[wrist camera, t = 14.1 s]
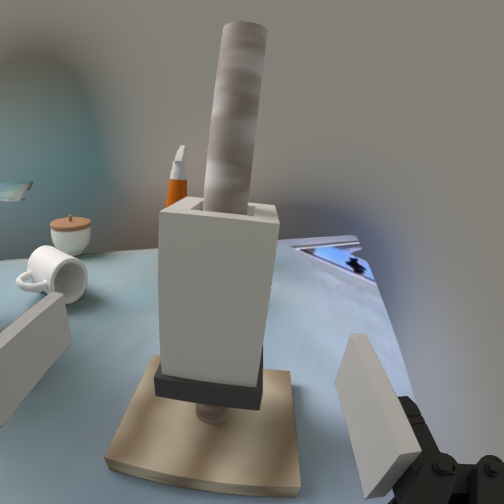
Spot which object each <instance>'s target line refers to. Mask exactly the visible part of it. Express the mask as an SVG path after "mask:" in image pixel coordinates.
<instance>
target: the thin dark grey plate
mask: <svg viewBox="0 0 504 504" xmlns="http://www.w3.org/2000/svg"><path fill="white" fill-rule="evenodd" d="M154 386H155V395H156V396H158V397H163V398H168V399H174V400H179V401H185V402H191V403H198V404H204V405H212V406H219V407H227V408H236V409H246V410H257V411H260V406H261V400H262V395H263V346H262V353H261V359H260V366H259V372H258V378H257V385H256V387H247V386H238V385H229V384H221V383H213V382H206V381H199V380H192V379H186V378H180V377H174V376H168V375H163V374H162V370H161V362H160V364H159V366H158V369H157V371H156V373H155V375H154Z"/></svg>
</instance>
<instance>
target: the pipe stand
mask: <svg viewBox="0 0 504 504" xmlns="http://www.w3.org/2000/svg"><path fill="white" fill-rule="evenodd" d="M266 38H267V29H266V28H265V27H263V26H261V25H259V24H256V23H252V22H243V21H239V22H231V23H228V24H227V25H225V26H224V28H223V35H222V41H221V48H220V55H219V63H218V69H217V77H216V84H215V92H214V100H213V110H212V118H211V126H210V136H209V146H208V156H207V166H206V177H205V189H204V201H203V211H210V212H220V213H230V214H240V215H247V208H248V198H249V189H250V180H251V170H252V161H253V152H254V143H255V134H256V133H255V132H256V125H257V116H258V106H259V98H260V89H261V80H262V72H263V63H264V54H265V46H266ZM160 362H161V355H157V354H154V355H153V357H152V359H151V361H150V363H149V365H148V367H147V369H146V371H145V373H144V375H143V377H142V379H141V381H140V383H139V385H138V387H137V389H136V391H135V393H134V395H133V397H132V399H131V401H130V403H129V405H128V407H127V410H126V412H125V414H124V416H123V418H122V420H121V422H120V424H119V426H118V428H117V430H116V433H115V435H114V437H113V439H112V441H111V443H110V445H109V448H108V450H107V452H106V454H105V456H104V458H105V460H106V463H107V465H108V468H109V469H111V470H114V471H117V472H121V473H124V474H128V475H131V476H135V477H139V478H143V479H147V480H151V481H155V482H159V483H164V484H169V485H174V486H179V487H184V488H190V489H196V490H202V491H209V492H217V493H226V494H236V495H248V496H265V497H296V496H297V494H298V492H299V490H300V488H301V479H300V467H299V457H298V446H297V436H296V426H295V416H294V406H293V397H292V388H291V378H290V371H282V370H269V369H263V395H262V400H261V406H260V411H257V410H246V409H236V408H227V407H219V406H212V405H204V404H198V403H191V402H185V401H179V400H174V399H168V398H163V397H158V396H156V395H155V386H154V375H155V373H156V371H157V369H158V366H159V364H160Z"/></svg>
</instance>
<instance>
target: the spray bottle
mask: <svg viewBox="0 0 504 504" xmlns="http://www.w3.org/2000/svg"><path fill="white" fill-rule="evenodd" d="M186 150H187V148H186V146H182V145H180V149H179V150H178V152H177V154H176V157H175V160H174V162H173V169H172V170H171V178H170V183H169V189H168V196H167V202H166V208H167V207H169V206H171V205H172V204H174V203H176V202H178V201H180V200H182V199H183V198H185V197H187V171H186V161H185V156H186Z"/></svg>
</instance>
